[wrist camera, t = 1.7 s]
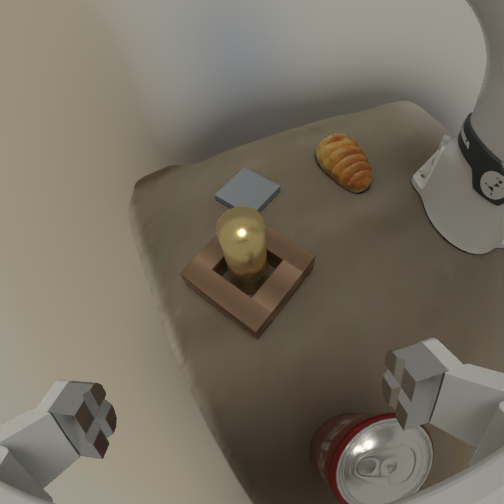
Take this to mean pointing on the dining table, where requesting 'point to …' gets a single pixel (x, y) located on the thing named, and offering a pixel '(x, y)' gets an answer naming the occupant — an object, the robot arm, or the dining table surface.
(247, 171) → the mat
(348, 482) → the soda can
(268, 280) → the wooden square frame
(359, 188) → the pastry
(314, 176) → the dining table surface
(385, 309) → the dining table surface
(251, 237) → the peg
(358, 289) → the dining table surface
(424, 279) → the dining table surface
